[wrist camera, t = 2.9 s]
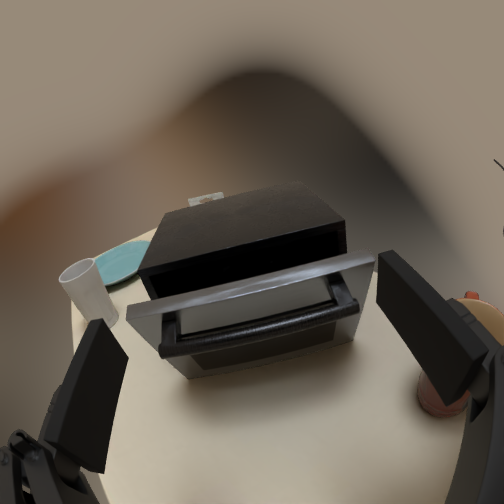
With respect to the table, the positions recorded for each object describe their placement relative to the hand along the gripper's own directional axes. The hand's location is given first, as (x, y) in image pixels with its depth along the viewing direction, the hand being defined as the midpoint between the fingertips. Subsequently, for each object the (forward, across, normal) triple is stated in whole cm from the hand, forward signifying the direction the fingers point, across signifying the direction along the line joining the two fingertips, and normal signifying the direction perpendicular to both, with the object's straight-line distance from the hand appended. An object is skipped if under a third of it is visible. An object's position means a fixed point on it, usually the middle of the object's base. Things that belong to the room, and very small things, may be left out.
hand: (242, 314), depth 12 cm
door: (+13, 0, -20) cm, 24 cm away
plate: (+51, -33, -20) cm, 64 cm away
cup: (+30, -30, -20) cm, 47 cm away
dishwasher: (+24, 0, -20) cm, 32 cm away
